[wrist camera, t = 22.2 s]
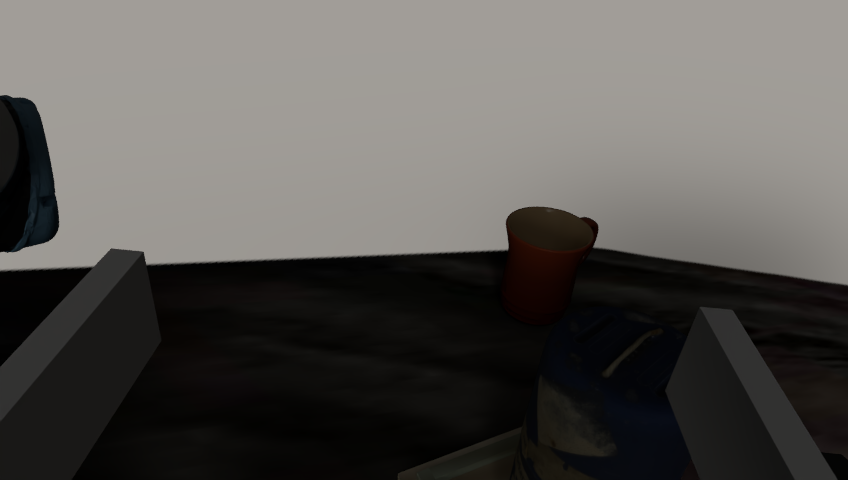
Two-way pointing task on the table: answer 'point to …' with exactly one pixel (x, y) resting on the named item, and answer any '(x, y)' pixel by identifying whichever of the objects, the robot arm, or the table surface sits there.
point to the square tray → (471, 461)
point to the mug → (543, 262)
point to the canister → (604, 401)
